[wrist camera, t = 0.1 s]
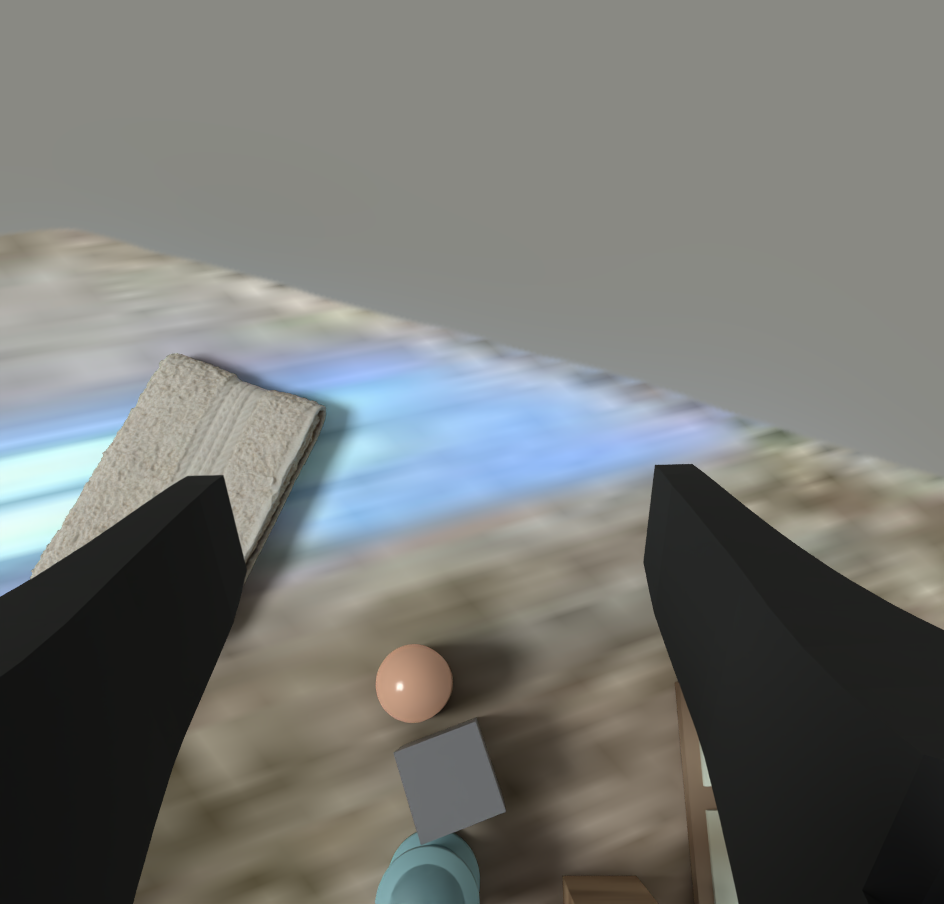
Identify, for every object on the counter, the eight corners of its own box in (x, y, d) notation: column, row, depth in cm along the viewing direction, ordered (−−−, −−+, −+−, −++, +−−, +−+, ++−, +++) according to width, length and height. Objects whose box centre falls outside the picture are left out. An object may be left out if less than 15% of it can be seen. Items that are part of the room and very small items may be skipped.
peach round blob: (453, 719, 41) (450, 722, 37) (384, 719, 41) (374, 722, 37) (453, 647, 42) (450, 644, 38) (386, 647, 42) (377, 644, 38)
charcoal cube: (503, 797, 40) (506, 811, 35) (427, 827, 39) (420, 845, 35) (476, 717, 41) (475, 721, 37) (402, 745, 41) (393, 752, 36)
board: (865, 1055, 36) (879, 1069, 34) (707, 1055, 36) (715, 1068, 35) (811, 681, 41) (822, 681, 40) (674, 682, 41) (680, 682, 40)
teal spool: (480, 932, 38) (480, 967, 33) (386, 932, 38) (373, 968, 33) (479, 827, 39) (478, 847, 34) (389, 828, 39) (376, 848, 34)
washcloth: (37, 602, 44) (6, 596, 41) (177, 356, 49) (158, 335, 46) (207, 675, 42) (187, 674, 39) (333, 414, 47) (323, 396, 44)
